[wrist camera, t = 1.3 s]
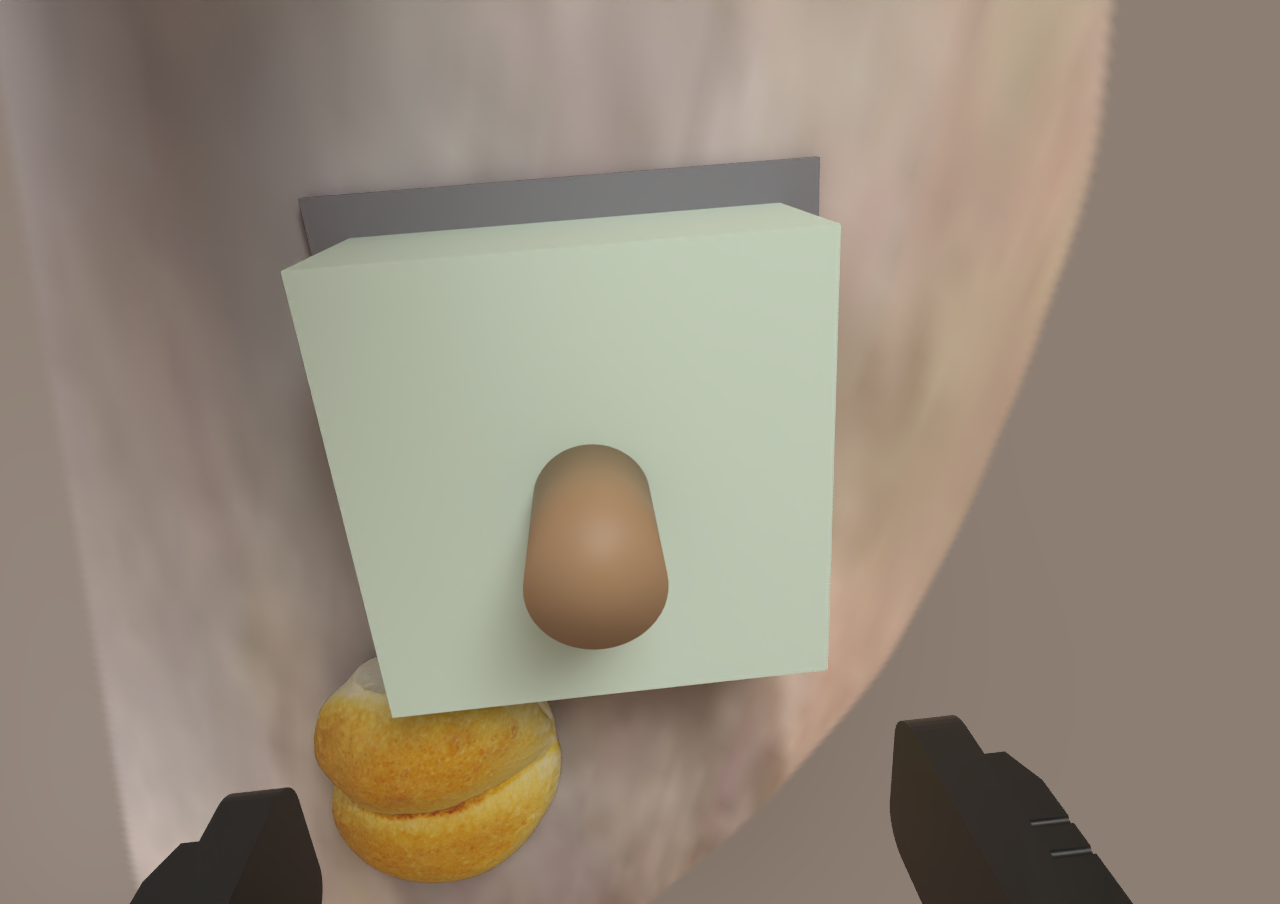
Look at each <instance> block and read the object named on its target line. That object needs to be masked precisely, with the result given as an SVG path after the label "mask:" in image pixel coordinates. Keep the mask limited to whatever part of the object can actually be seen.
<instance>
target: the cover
mask: <svg viewBox="0 0 1280 904" xmlns="http://www.w3.org/2000/svg"><path fill="white" fill-rule="evenodd" d="M840 239H841V224H839V223H836V222H834V221H831V220H828V219H825V218H822V217H819V216H817V215H814V214H811V213H808V212H805V211H802V210H800V209H797V208H794V207H791V206H788V205H785V204H783V203H769V204H757V205H745V206H733V207H721V208H709V209H697V210H685V211H672V212H660V213H648V214H636V215H624V216H612V217H600V218H588V219H576V220H563V221H551V222H539V223H527V224H515V225H503V226H491V227H479V228H467V229H454V230H442V231H430V232H418V233H406V234H394V235H382V236H370V237H358V238H349V239H347V240H345V241H342V242H340V243H338V244H336V245H334V246H332V247H330V248H328V249H326V250H324V251H322V252H320V253H317V254H315V255H313V256H311V257H309V258H307V259H305V260H303V261H301V262H299V263H297V264H294V265H292V266H290V267H288V268H286V269H284V270H282V271H281V275H282V279H283V283H284V287H285V291H286V295H287V299H288V303H289V307H290V311H291V315H292V319H293V323H294V327H295V331H296V335H297V339H298V343H299V347H300V351H301V355H302V359H303V363H304V367H305V371H306V375H307V379H308V383H309V387H310V391H311V395H312V399H313V403H314V407H315V411H316V415H317V419H318V423H319V427H320V431H321V435H322V439H323V443H324V447H325V451H326V455H327V459H328V463H329V467H330V471H331V475H332V479H333V483H334V487H335V491H336V495H337V499H338V503H339V507H340V511H341V515H342V519H343V523H344V527H345V531H346V535H347V539H348V543H349V546H350V550H351V554H352V558H353V562H354V566H355V570H356V574H357V578H358V582H359V586H360V590H361V594H362V598H363V602H364V606H365V610H366V614H367V618H368V622H369V626H370V630H371V634H372V638H373V642H374V646H375V650H376V654H377V658H378V662H379V666H380V670H381V674H382V678H383V682H384V686H385V690H386V694H387V698H388V702H389V706H390V710H391V714H392V718H397V717H406V716H415V715H424V714H433V713H442V712H451V711H460V710H469V709H478V708H487V707H496V706H505V705H515V704H524V703H533V702H542V701H551V700H560V699H569V698H578V697H587V696H596V695H605V694H614V693H623V692H632V691H642V690H651V689H660V688H669V687H678V686H687V685H696V684H705V683H714V682H723V681H732V680H741V679H750V678H759V677H768V676H778V675H787V674H796V673H805V672H814V671H823V670H828V642H829V608H830V575H831V541H832V508H833V474H834V441H835V407H836V373H837V340H838V306H839V273H840Z"/></svg>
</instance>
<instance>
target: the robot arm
mask: <svg viewBox="0 0 1280 904" xmlns="http://www.w3.org/2000/svg"><path fill="white" fill-rule="evenodd" d="M891 782H892V783H891V795H890V815H891V822H892V828H893V833H894V837H895V841H896V844H897V847H898V850H899V853H900V855H901V858H902V860H903V862H904V864H905V867H906V869H907V871H908V873H909V875H910V878H911V880H912V882H913V884H914V886H915V889H916V891H917V893H918V895H919V897H920V899H921V901H922V904H1133V903H1132V902H1131V900H1130V899H1129V898H1128V896H1127V895H1126V894H1125V892H1124V891H1123V889H1122V888H1121V887H1120V885H1119V884H1118V883H1117V882H1116V880H1115V879H1114V877H1113V876H1112V875H1111V873H1110V872H1109V871H1108V869H1107V868H1106V866H1105V865H1104V864H1103V862H1102V861H1101V859H1100V858H1099V857H1098V856H1097V854H1093V853H1092V851H1091V847H1090V844H1089V843H1088V842H1087V840H1086V839H1085V838H1084V836H1083V835H1082V834H1081V832H1080V831H1079V830H1078V828H1077V827H1076V825H1075V824H1074V823H1070V821H1069V817H1068V814H1067V813H1066V812H1065V810H1064V809H1063V808H1062V806H1061V805H1060V803H1059V802H1058V801H1057V799H1056V798H1055V797H1054V795H1053V794H1052V793H1051V791H1050V790H1049V788H1048V787H1047V786H1046V784H1045V783H1044V782H1043V780H1042V779H1040V778H1039V777H1038V776H1036V775H1035V774H1034V773H1032V772H1031V771H1030V770H1028V769H1027V768H1026V767H1024V766H1023V765H1022V764H1021V763H1019V762H1018V761H1017V760H1015V759H1014V758H1013V757H1011V756H1010V755H1009V754H1007V753H1006V752H997V753H988V754H984V753H983V751H982V750H981V748H980V747H979V745H978V744H977V742H976V741H975V739H974V738H973V736H972V735H971V733H970V732H969V730H968V729H967V727H966V726H965V724H964V723H963V722H962V721H961V720H960V719H959V718H958V717H957V716H954V715H950V716H941V717H932V718H923V719H914V720H905V721H900V722H898V723H897V725H896V729H895V738H894V752H893V766H892V781H891ZM130 904H322V875H321V870H320V866H319V863H318V859H317V856H316V853H315V850H314V847H313V843H312V840H311V837H310V834H309V831H308V828H307V824H306V821H305V818H304V815H303V812H302V809H301V805H300V802H299V799H298V796H297V794H296V793H295V791H294V790H293V789H292V788H279V789H270V790H261V791H252V792H243V793H234V794H230V795H228V796H226V797H225V798H224V799H223V800H222V801H221V803H220V804H219V806H218V808H217V809H216V811H215V813H214V815H213V817H212V819H211V821H210V822H209V824H208V826H207V828H206V830H205V832H204V833H203V835H202V837H201V839H200V841H198V842H190V843H181V844H180V845H179V846H178V847H177V848H176V849H175V850H174V851H173V852H172V853H171V854H170V855H169V856H168V857H167V858H166V859H165V860H164V861H163V862H162V863H161V864H160V865H159V866H158V867H157V868H156V869H155V870H154V871H153V872H152V873H151V874H150V875H149V876H148V877H147V878H146V879H145V880H144V881H143V882H142V884H141V886H140V887H139V889H138V891H137V893H136V894H135V896H134V898H133V899H132V901H131V903H130Z"/></svg>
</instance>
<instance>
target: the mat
mask: <svg viewBox="0 0 1280 904" xmlns="http://www.w3.org/2000/svg"><path fill="white" fill-rule="evenodd" d="M819 179H820V157H805V158H793V159H780V160H768V161H755V162H743V163H730V164H718V165H705V166H693V167H680V168H668V169H655V170H643V171H630V172H618V173H605V174H593V175H580V176H568V177H555V178H543V179H530V180H518V181H505V182H493V183H480V184H468V185H455V186H443V187H430V188H418V189H405V190H393V191H380V192H368V193H355V194H343V195H330V196H318V197H305V198H300V199H298V200H299V205H300V209H301V213H302V217H303V222H304V226H305V230H306V235H307V239H308V243H309V247H310V252H311V256H313V255H315V254H317V253H320V252H322V251H324V250H326V249H328V248H330V247H332V246H334V245H336V244H338V243H340V242H342V241H345V240H347V239H349V238H358V237H370V236H382V235H394V234H406V233H418V232H430V231H442V230H454V229H467V228H479V227H491V226H503V225H515V224H527V223H539V222H551V221H563V220H576V219H588V218H600V217H612V216H624V215H636V214H648V213H660V212H672V211H685V210H697V209H709V208H721V207H733V206H745V205H757V204H769V203H783V204H785V205H788V206H791V207H794V208H797V209H800V210H802V211H805V212H808V213H811V214H814V215H817V216H819Z"/></svg>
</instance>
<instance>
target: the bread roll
mask: <svg viewBox="0 0 1280 904" xmlns="http://www.w3.org/2000/svg"><path fill="white" fill-rule="evenodd" d="M314 749H315V756H316V759H317V762H318V764H319V766H320V767H321V769H322V770H323V771H324V773H325V774H326V775H327V776H328V778H329V779H330V780H331V781H332V782H333V783H334V790H333V810H332V812H333V816H334V820H335V824H336V826H337V828H338V830H339V832H340V834H341V836H342V837H343V839H344V840H345V841H346V843H347V844H348V845H349V847H350V848H351V849H352V850H353V851H354V852H355V853H356V854H357V855H358V856H359V857H360V858H361V859H362V860H363V861H365V862H366V863H367V864H369V865H370V866H372V867H373V868H375V869H377V870H379V871H380V872H383V873H386V874H388V875H391V876H394V877H397V878H400V879H404V880H409V881H415V882H423V883H441V882H450V881H458V880H463V879H467V878H470V877H474V876H477V875H479V874H481V873H484V872H486V871H489V870H491V869H492V868H494V867H495V866H497V865H498V864H500V863H502V862H503V861H505V860H506V859H507V858H508V857H509V856H511V855H512V854H513V853H514V852H515V851H517V850H518V849H519V848H520V846H521V845H522V844H523V843H524V842H525V841H526V840H527V839H528V838H529V836H530V835H531V834H532V833H533V831H534V830H535V828H536V827H537V826H538V824H539V822H540V821H541V819H542V818H543V816H544V814H545V813H546V811H547V809H548V807H549V806H550V804H551V802H552V800H553V798H554V796H555V794H556V791H557V787H558V782H559V778H560V774H561V763H562V754H561V748H560V744H559V741H558V738H557V731H556V727H555V721H554V716H553V713H552V710H551V708H550V706H549V704H548V702H547V701H542V702H533V703H524V704H515V705H505V706H496V707H487V708H478V709H469V710H460V711H451V712H442V713H433V714H424V715H415V716H406V717H397V718H392V714H391V710H390V706H389V702H388V698H387V694H386V690H385V686H384V682H383V678H382V674H381V670H380V666H379V662H378V658H377V657H374V658H372V659H370V660H368V661H366V662H364V663H363V664H361V665H360V666H359V667H358V668H357V669H356V670H355V672H354V673H353V674H352V676H351V677H350V678H349V679H348V680H347V681H346V682H345V683H344V684H343V685H342V686H341V687H340V688H339V689H338V690H336V691H335V692H334V693H333V694H332V696H331V697H330V698H329V699H328V700H327V701H326V702H325V704H324V705H323V707H322V708H321V710H320V713H319V717H318V721H317V725H316V729H315V735H314Z"/></svg>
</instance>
